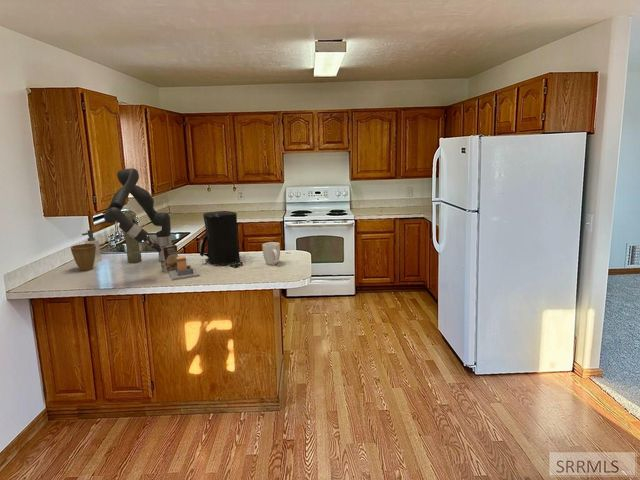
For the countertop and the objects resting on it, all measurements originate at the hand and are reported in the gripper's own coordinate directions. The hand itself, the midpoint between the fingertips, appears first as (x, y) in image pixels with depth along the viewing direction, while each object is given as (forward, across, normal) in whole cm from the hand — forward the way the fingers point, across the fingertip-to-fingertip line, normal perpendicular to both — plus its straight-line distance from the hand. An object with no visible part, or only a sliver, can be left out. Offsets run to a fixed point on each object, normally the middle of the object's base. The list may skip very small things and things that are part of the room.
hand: (160, 249), depth 279 cm
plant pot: (-18, +48, +44) cm, 68 cm away
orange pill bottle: (+20, 0, +4) cm, 20 cm away
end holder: (+21, 0, +4) cm, 21 cm away
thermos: (+3, +51, +22) cm, 56 cm away
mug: (+60, -7, -35) cm, 70 cm away
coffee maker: (+40, +14, -14) cm, 44 cm away
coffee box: (+17, +14, +8) cm, 23 cm away
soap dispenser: (-16, +70, +42) cm, 83 cm away
